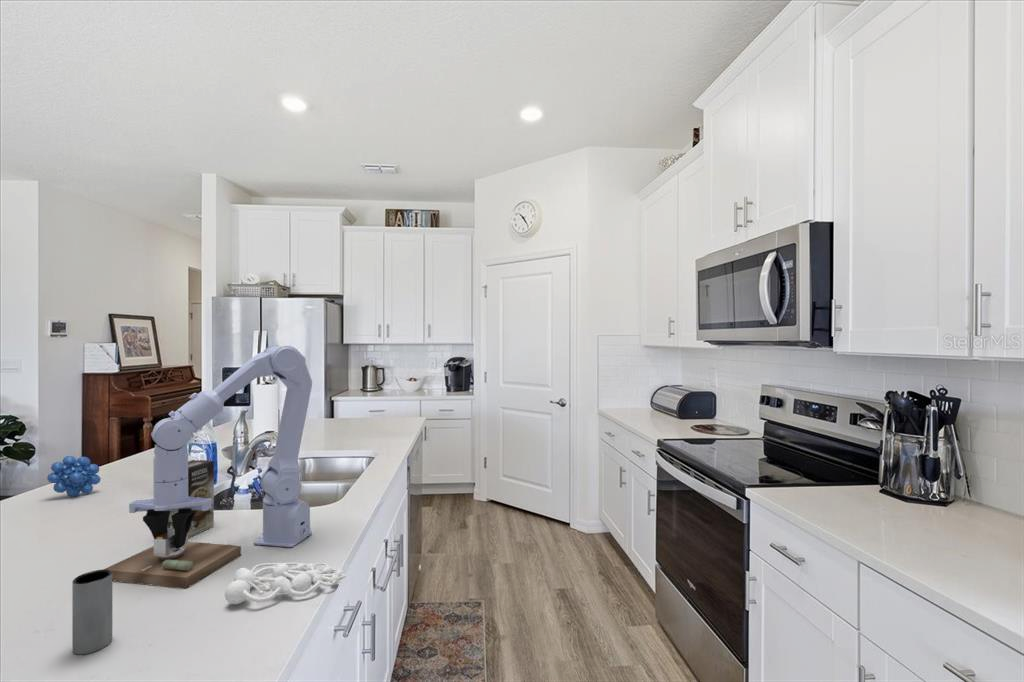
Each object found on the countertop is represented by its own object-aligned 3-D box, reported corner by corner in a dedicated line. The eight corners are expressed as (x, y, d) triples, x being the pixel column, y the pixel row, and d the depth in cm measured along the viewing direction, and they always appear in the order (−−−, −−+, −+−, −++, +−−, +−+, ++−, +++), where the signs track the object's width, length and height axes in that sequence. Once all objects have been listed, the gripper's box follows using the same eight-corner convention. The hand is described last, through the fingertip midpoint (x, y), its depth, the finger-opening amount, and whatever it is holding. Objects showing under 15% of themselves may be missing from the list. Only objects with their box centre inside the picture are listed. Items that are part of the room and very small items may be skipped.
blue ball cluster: (49, 504, 135) (49, 461, 135) (45, 499, 140) (45, 457, 140) (103, 494, 144) (103, 453, 144) (98, 490, 149) (98, 450, 149)
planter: (65, 650, 72) (65, 580, 72) (100, 633, 76) (100, 567, 76) (84, 658, 70) (84, 586, 70) (119, 639, 75) (119, 572, 75)
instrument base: (240, 555, 104) (240, 538, 104) (186, 588, 90) (186, 568, 90) (166, 549, 107) (166, 532, 107) (103, 580, 93) (103, 561, 93)
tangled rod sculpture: (345, 569, 101) (346, 548, 101) (344, 598, 87) (345, 574, 88) (239, 580, 95) (241, 558, 95) (220, 613, 81) (221, 587, 82)
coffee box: (183, 541, 111) (183, 469, 111) (159, 538, 112) (159, 468, 112) (215, 526, 120) (215, 460, 120) (192, 524, 121) (192, 458, 121)
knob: (172, 548, 102) (172, 525, 102) (192, 549, 102) (192, 525, 101) (148, 561, 96) (148, 536, 96) (170, 562, 96) (170, 537, 96)
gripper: (118, 485, 94) (118, 556, 94) (198, 483, 95) (198, 553, 95) (142, 475, 101) (142, 541, 101) (216, 473, 102) (216, 539, 102)
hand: (171, 546), depth 99 cm, fingers closed on knob, 3 cm apart
